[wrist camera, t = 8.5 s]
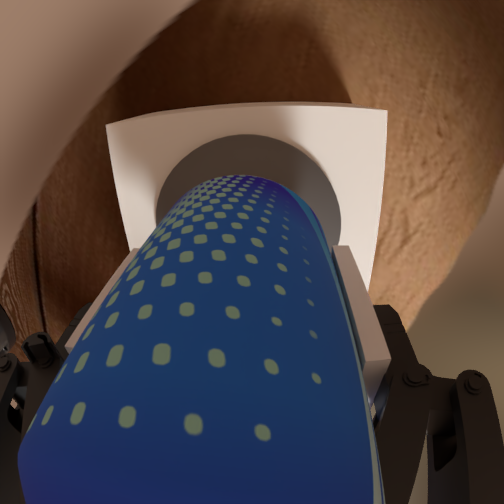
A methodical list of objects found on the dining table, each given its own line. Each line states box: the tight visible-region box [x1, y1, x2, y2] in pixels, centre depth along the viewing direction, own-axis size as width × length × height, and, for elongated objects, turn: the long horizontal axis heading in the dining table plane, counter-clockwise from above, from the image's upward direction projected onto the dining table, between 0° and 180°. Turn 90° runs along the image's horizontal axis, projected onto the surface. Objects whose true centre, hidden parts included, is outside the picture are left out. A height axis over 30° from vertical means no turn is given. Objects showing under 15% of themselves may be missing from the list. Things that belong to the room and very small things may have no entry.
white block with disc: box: [106, 102, 387, 292], centre depth 22 cm, size 16×14×8 cm
